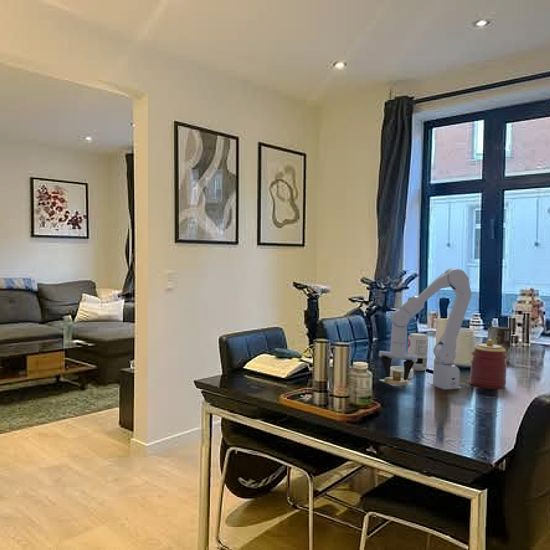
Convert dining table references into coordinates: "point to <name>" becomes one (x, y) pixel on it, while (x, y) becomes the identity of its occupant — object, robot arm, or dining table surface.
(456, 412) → the dining table surface
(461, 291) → the robot arm
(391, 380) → the lid
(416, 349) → the supplement can
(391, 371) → the bowl
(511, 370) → the dining table surface
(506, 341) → the coffee box
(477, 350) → the canister
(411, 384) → the mat
